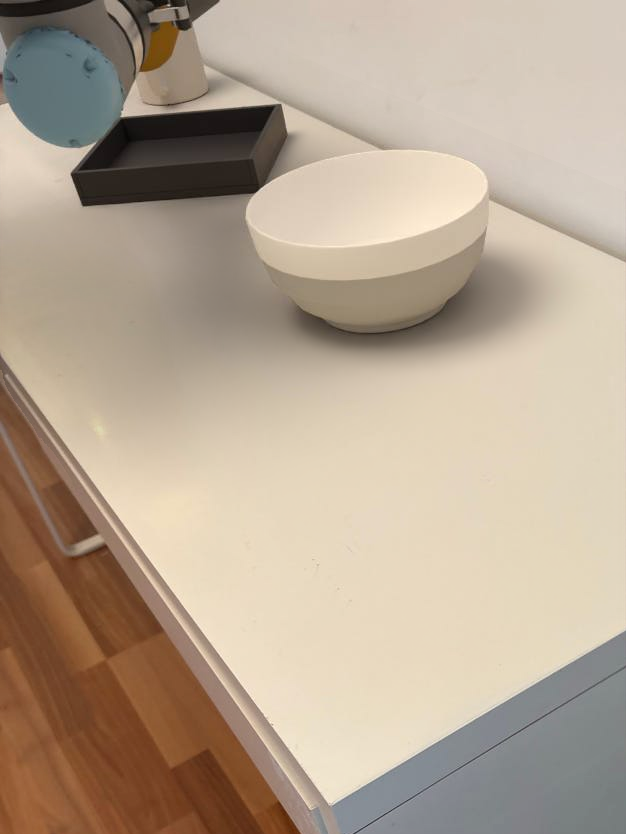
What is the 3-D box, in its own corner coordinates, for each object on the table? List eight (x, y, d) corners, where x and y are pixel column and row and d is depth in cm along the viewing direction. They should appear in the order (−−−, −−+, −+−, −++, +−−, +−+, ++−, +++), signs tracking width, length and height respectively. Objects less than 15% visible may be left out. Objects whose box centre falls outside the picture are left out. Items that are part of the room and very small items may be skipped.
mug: (180, 80, 132) (157, -7, 125) (226, 88, 128) (204, -1, 121) (115, 104, 127) (87, 16, 120) (160, 114, 122) (134, 23, 115)
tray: (81, 206, 102) (69, 173, 100) (127, 147, 114) (117, 117, 112) (260, 192, 101) (252, 158, 99) (287, 134, 113) (281, 103, 111)
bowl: (224, 333, 80) (193, 226, 73) (357, 239, 90) (340, 139, 84) (417, 379, 72) (400, 264, 66) (537, 271, 83) (532, 163, 77)
